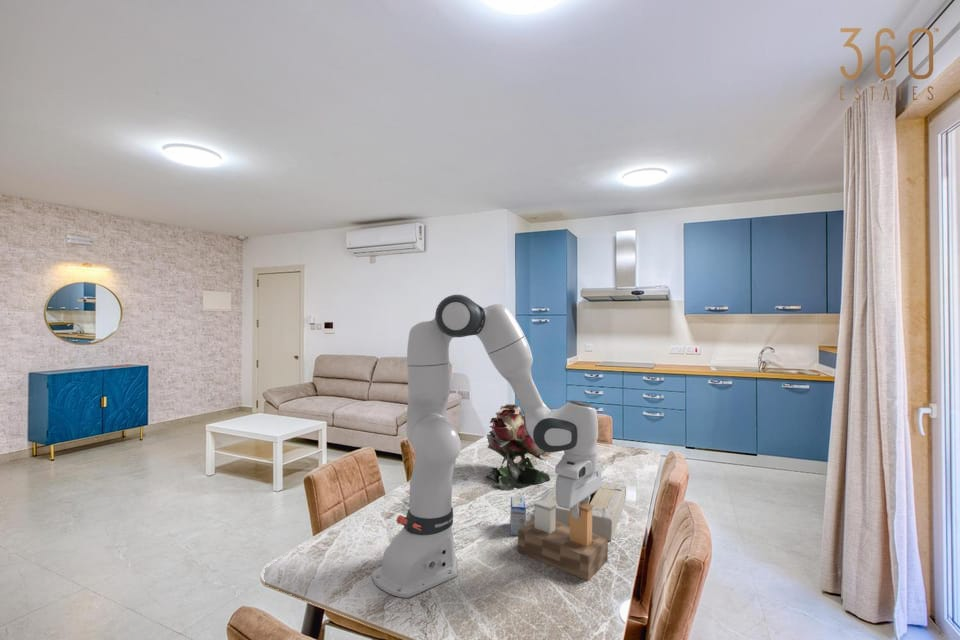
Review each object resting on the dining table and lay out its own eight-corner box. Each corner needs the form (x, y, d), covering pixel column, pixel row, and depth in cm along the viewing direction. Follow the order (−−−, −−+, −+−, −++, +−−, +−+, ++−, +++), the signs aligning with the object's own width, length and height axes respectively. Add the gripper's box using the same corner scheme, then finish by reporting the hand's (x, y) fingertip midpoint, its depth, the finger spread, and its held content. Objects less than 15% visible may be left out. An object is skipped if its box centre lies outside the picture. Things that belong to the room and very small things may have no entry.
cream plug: (549, 546, 120) (550, 508, 120) (533, 540, 123) (534, 503, 123) (555, 542, 122) (556, 504, 122) (539, 536, 125) (540, 499, 125)
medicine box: (510, 523, 138) (510, 496, 138) (524, 523, 138) (524, 496, 138) (511, 535, 130) (511, 506, 130) (526, 536, 130) (526, 507, 130)
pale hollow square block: (613, 544, 127) (626, 503, 156) (613, 518, 127) (626, 481, 156) (537, 528, 137) (562, 492, 166) (536, 504, 137) (562, 472, 166)
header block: (588, 580, 108) (588, 556, 108) (517, 551, 121) (518, 530, 121) (607, 560, 117) (607, 538, 117) (540, 535, 130) (540, 515, 130)
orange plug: (587, 549, 113) (587, 509, 113) (569, 543, 116) (569, 503, 116) (592, 545, 115) (592, 505, 115) (574, 538, 118) (575, 500, 119)
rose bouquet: (561, 478, 179) (561, 405, 180) (505, 493, 163) (506, 413, 163) (521, 461, 200) (521, 396, 201) (468, 473, 184) (469, 402, 184)
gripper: (586, 451, 126) (586, 499, 126) (551, 468, 110) (550, 523, 110) (607, 455, 122) (607, 505, 122) (574, 474, 106) (573, 531, 106)
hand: (580, 514), depth 116 cm, fingers closed on orange plug, 3 cm apart
